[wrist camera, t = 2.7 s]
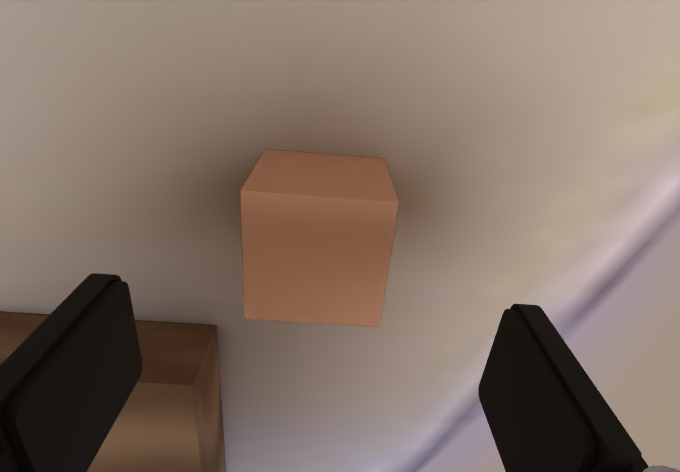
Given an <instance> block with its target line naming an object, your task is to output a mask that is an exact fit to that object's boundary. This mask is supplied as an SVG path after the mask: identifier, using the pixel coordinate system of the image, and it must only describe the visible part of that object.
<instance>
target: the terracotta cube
mask: <svg viewBox="0 0 680 472" xmlns="http://www.w3.org/2000/svg"><path fill="white" fill-rule="evenodd" d="M240 193H241V226H242V259H243V293H244V319H256V320H272V321H288V322H304V323H320V324H337V325H353V326H369V327H380V322H381V316H382V309H383V303H384V296H385V290H386V283H387V277H388V271H389V264H390V258H391V251H392V245H393V238H394V232H395V225H396V219H397V212H398V206H399V201H398V198H397V195H396V192H395V189H394V186H393V183H392V180H391V178H390V175H389V172H388V169H387V166H386V163H385V160H384V158H371V157H358V156H345V155H332V154H319V153H306V152H293V151H280V150H267V149H265V151H264V152H263V154H262V156H261V157H260V159H259V161H258V162H257V164H256V166H255V167H254V169H253V171H252V172H251V174H250V176H249V177H248V179H247V181H246V182H245V184H244V186H243V187H242V189H241V191H240Z"/></svg>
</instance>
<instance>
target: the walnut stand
mask: <svg viewBox="0 0 680 472" xmlns="http://www.w3.org/2000/svg"><path fill="white" fill-rule="evenodd" d="M48 316H49V315H40V314H25V313H9V312H0V365H1V364H2V363H3V362H4V361H5V360H6V359H7V358H8V357H9V356H10V355H11V354H12V353H13V352H14V351H15V350H16V349H17V348H18V347H19V346H20V345H21V344H22V343H23V342H24V341H25V340H26V339H27V338H28V337H29V336H30V335H31V334H32V333H33V332H34V331H35V329H36V328H37V327H38V326H39V325H40V324H41V323H42V322H43V321H44V320H45V319H46V318H47V317H48ZM135 325H136V330H137V335H138V341H139V346H140V352H141V357H142V363H143V367H142V373H141V376H140V378H139V380H138V382H137V384H136V385H135V387H134V389H133V391H132V392H131V394H130V396H129V398H128V400H127V401H126V403H125V405H124V407H123V408H122V410H121V412H120V414H119V416H118V417H117V419H116V421H115V423H114V424H113V426H112V428H111V430H110V431H109V433H108V435H107V437H106V439H105V440H104V442H103V444H102V446H101V447H100V449H99V451H98V453H97V454H96V456H95V458H94V460H93V462H92V463H91V465H90V467H89V469H88V470H87V472H226V468H225V452H224V436H223V421H222V405H221V389H220V374H219V358H218V342H217V327H216V326H213V325H197V324H181V323H166V322H150V321H135Z"/></svg>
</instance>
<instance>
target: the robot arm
mask: <svg viewBox="0 0 680 472" xmlns="http://www.w3.org/2000/svg"><path fill="white" fill-rule="evenodd" d="M142 367H143V363H142V357H141V352H140V346H139V341H138V335H137V330H136V325H135V319H134V314H133V308H132V303H131V297H130V292H129V287H128V284H127V283H126V282H123V281H122V280H121V278H120V277H119V276H118V275H109V274H95V273H94V274H91V275H89V276H88V277H87V278H86V279H85V280H84V281H83V282H82V283H81V284H80V285H79V286H78V287H77V288H76V289H75V290H74V291H73V292H72V293H71V294H70V295H69V296H68V297H67V298H66V299H65V300H64V301H63V302H62V303H61V304H60V305H59V306H58V307H57V308H56V309H55V310H54V311H53V312H52V313H51V314H50V315H49V316H48V317H47V318H46V319H45V320H44V321H43V322H42V323H41V324H40V325H39V326H38V327H37V328H36V329H35V331H34V332H33V333H32V334H31V335H30V336H29V337H28V338H27V339H26V340H25V341H24V342H23V343H22V344H21V345H20V346H19V347H18V348H17V349H16V350H15V351H14V352H13V353H12V354H11V355H10V356H9V357H8V358H7V359H6V360H5V361H4V362H3V363H2V364H1V365H0V472H87V470H88V469H89V467H90V465H91V463H92V462H93V460H94V458H95V456H96V454H97V453H98V451H99V449H100V447H101V446H102V444H103V442H104V440H105V439H106V437H107V435H108V433H109V431H110V430H111V428H112V426H113V424H114V423H115V421H116V419H117V417H118V416H119V414H120V412H121V410H122V408H123V407H124V405H125V403H126V401H127V400H128V398H129V396H130V394H131V392H132V391H133V389H134V387H135V385H136V384H137V382H138V380H139V378H140V376H141V373H142ZM479 398H480V402H481V404H482V407H483V410H484V413H485V415H486V418H487V421H488V424H489V426H490V429H491V432H492V435H493V438H494V440H495V443H496V446H497V449H498V451H499V454H500V457H501V460H502V462H503V465H504V468H505V471H506V472H680V471H679V470H677V469H674V468H670V467H666V466H650V467H648V465H647V464H646V462H645V461H644V459H643V458H642V456H641V454H642V453H641V452H640V451H639V449H638V448H637V446H636V445H635V443H634V442H633V440H632V439H631V437H630V436H629V434H628V433H627V432H626V430H625V429H624V427H623V426H622V424H621V423H620V421H619V420H618V419H617V417H616V416H615V414H614V413H613V411H612V410H611V408H610V407H609V406H608V404H607V403H606V401H605V400H604V398H603V397H602V395H601V394H600V392H599V391H598V390H597V388H596V387H595V385H594V384H593V382H592V381H591V379H590V378H589V377H588V375H587V374H586V372H585V371H584V369H583V368H582V366H581V365H580V363H579V362H578V361H577V359H576V358H575V356H574V355H573V353H572V352H571V350H570V349H569V348H568V346H567V345H566V343H565V342H564V340H563V339H562V337H561V336H560V335H559V333H558V332H557V330H556V329H555V327H554V326H553V324H552V323H551V321H550V320H549V319H548V317H547V316H546V314H545V313H544V311H543V310H542V309H541V308H540V306H537V305H526V304H513V305H512V306H511V308H510V309H506V310H505V311H504V313H503V315H502V318H501V321H500V324H499V327H498V330H497V333H496V336H495V339H494V342H493V345H492V348H491V351H490V354H489V357H488V360H487V363H486V366H485V369H484V372H483V375H482V378H481V381H480V384H479Z"/></svg>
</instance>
